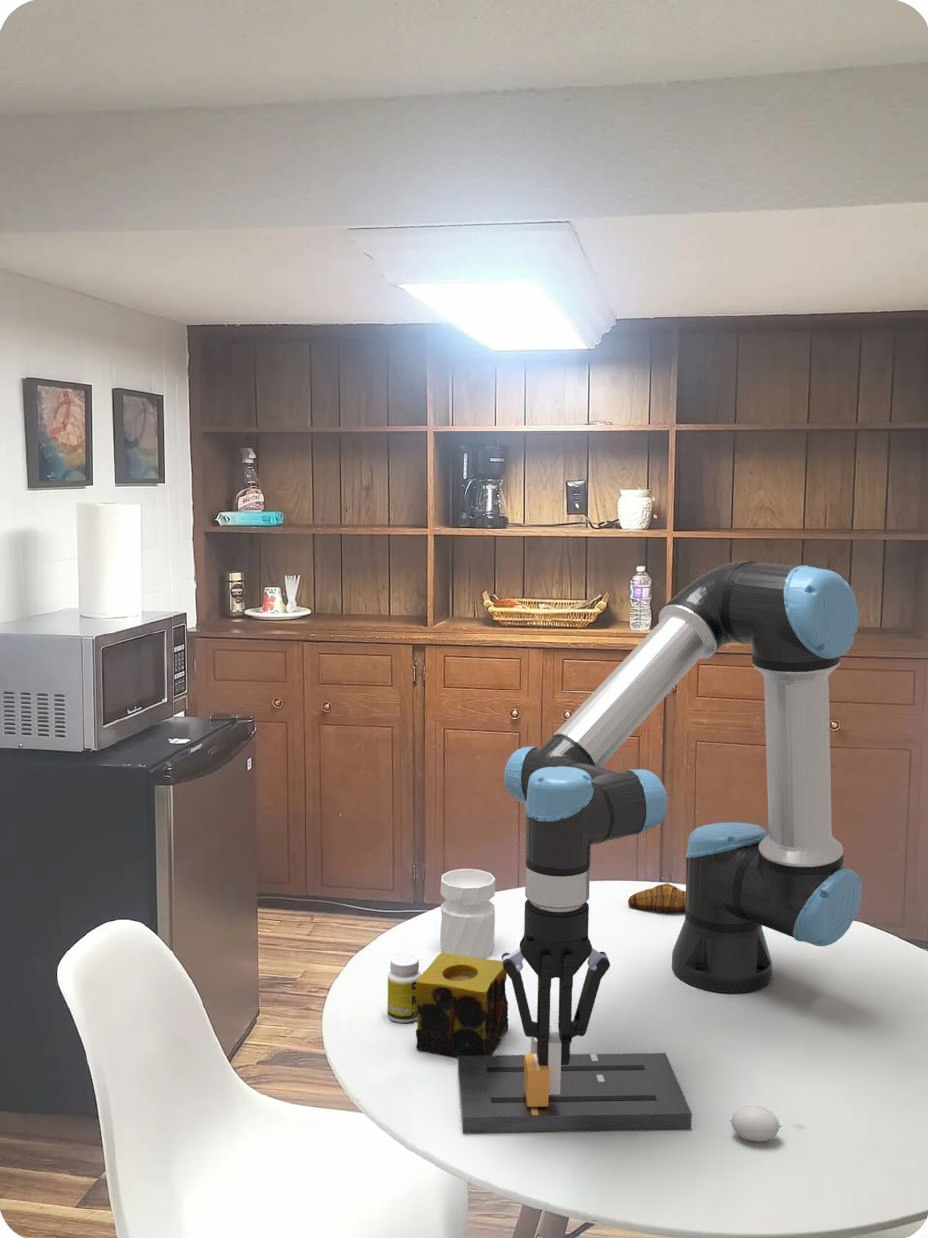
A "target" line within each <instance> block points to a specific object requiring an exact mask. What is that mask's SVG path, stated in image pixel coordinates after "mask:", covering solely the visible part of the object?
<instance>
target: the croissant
mask: <svg viewBox="0 0 928 1238" xmlns="http://www.w3.org/2000/svg"><path fill="white" fill-rule="evenodd" d="M627 903H628V906H629V908H633V909H636V910H641V911H647V912H657V913H663V914H679V913H684V914H685V908H686V907H685V904H686V890H683V889H680V888H678V887H677V886H675V885H672V884H670V883H664V884H663V883H662V884H658V885H656V886H653V888H647V889H644V890H641V891H638V892H635V893H634V894H632V895H630V896H628V900H627Z"/></svg>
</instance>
